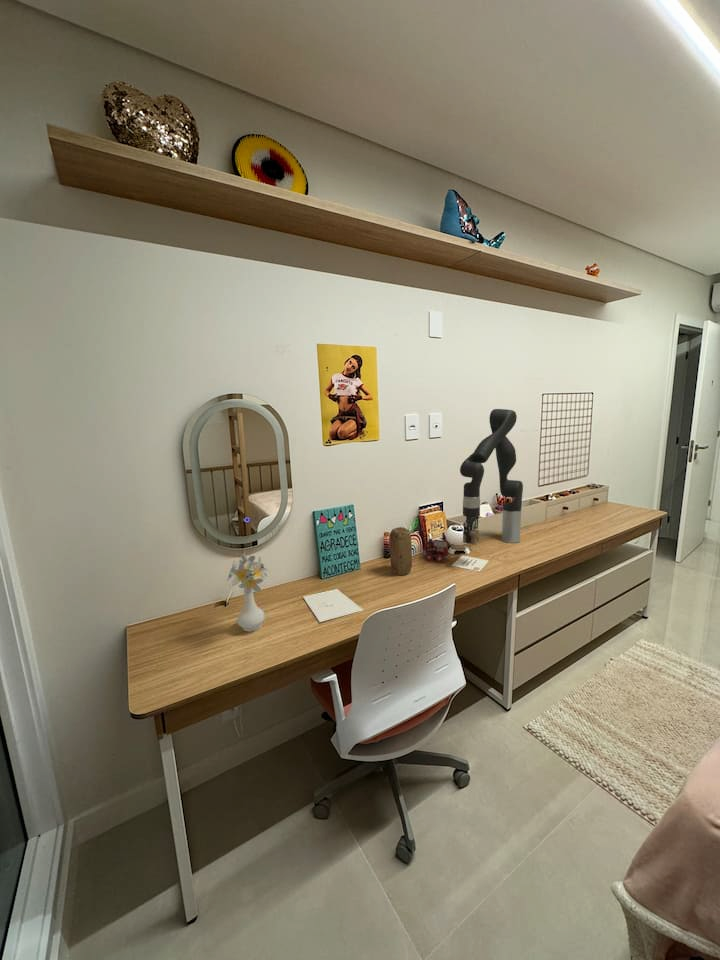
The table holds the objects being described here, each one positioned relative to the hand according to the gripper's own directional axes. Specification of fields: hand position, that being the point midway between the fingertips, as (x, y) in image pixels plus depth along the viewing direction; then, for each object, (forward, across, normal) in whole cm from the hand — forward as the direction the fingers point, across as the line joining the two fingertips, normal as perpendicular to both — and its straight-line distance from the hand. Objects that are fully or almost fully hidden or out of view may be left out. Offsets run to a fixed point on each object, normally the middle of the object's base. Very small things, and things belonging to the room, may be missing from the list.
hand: (470, 540), depth 172 cm
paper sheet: (+12, -59, +30) cm, 67 cm away
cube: (+1, 0, 0) cm, 1 cm away
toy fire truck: (+12, -3, +16) cm, 20 cm away
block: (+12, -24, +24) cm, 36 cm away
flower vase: (+12, -90, +45) cm, 101 cm away
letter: (+11, 0, 0) cm, 11 cm away
